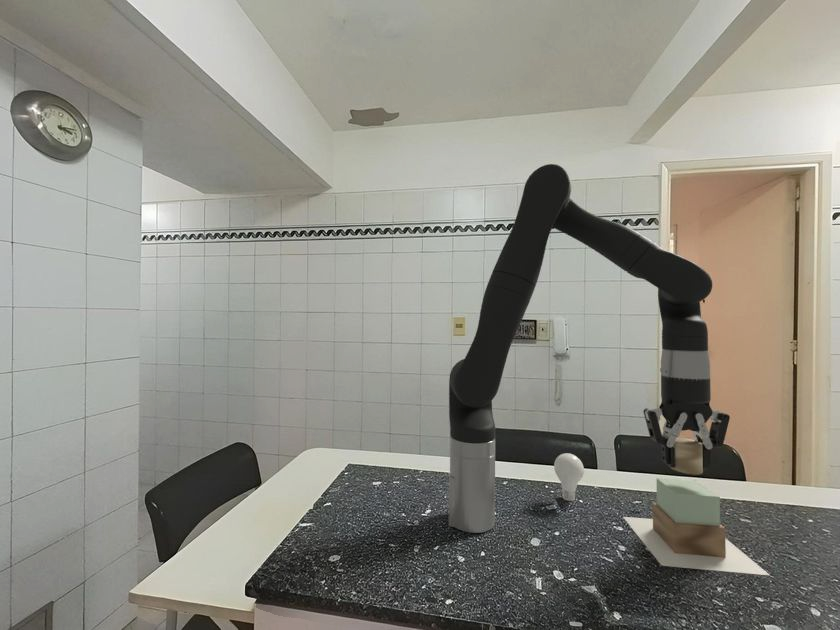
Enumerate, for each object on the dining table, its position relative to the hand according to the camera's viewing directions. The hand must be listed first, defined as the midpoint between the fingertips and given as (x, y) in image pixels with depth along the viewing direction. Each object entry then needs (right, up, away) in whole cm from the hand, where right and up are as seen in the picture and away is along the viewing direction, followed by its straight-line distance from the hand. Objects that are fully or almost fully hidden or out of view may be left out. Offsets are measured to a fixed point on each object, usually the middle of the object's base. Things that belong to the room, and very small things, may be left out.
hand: (686, 466), depth 69 cm
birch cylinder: (0, 0, 0) cm, 0 cm away
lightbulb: (-15, -15, +17) cm, 27 cm away
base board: (0, -15, -1) cm, 15 cm away
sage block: (0, -9, 0) cm, 9 cm away
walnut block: (0, -14, -1) cm, 14 cm away
